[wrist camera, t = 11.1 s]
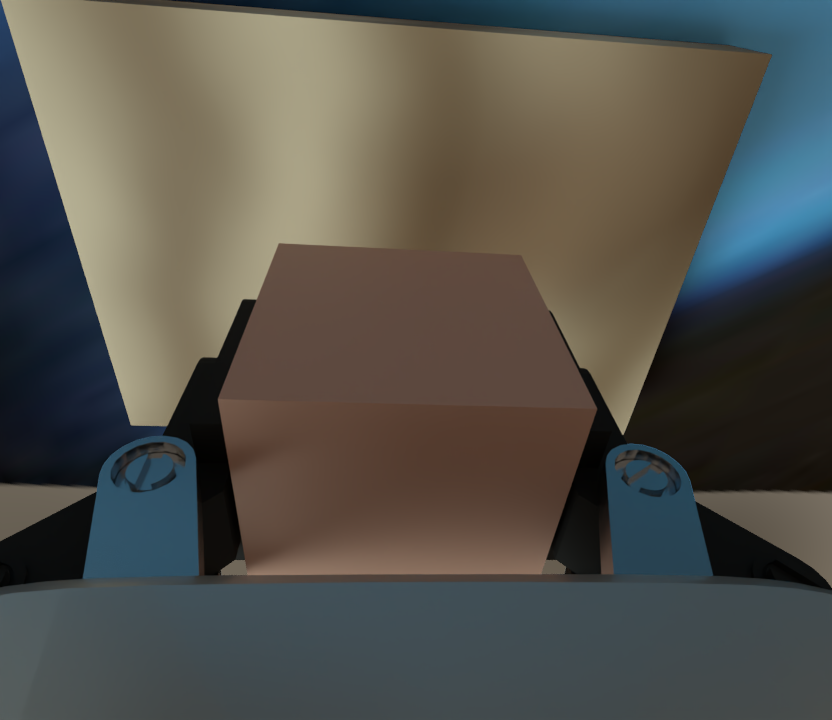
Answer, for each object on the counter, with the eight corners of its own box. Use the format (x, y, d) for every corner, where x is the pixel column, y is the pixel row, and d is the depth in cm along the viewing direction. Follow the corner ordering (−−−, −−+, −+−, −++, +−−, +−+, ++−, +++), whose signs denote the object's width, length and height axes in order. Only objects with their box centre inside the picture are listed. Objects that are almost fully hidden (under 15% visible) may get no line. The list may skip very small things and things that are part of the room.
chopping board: (151, 388, 20) (131, 425, 18) (47, -9, 13) (-1, -7, 11) (605, 399, 21) (623, 434, 20) (727, 45, 14) (772, 54, 13)
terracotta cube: (520, 254, 11) (597, 408, 7) (486, 432, 14) (527, 614, 10) (278, 243, 11) (217, 399, 7) (292, 428, 14) (254, 616, 10)
